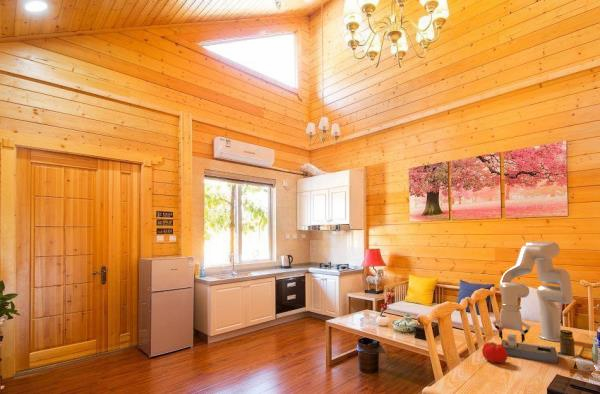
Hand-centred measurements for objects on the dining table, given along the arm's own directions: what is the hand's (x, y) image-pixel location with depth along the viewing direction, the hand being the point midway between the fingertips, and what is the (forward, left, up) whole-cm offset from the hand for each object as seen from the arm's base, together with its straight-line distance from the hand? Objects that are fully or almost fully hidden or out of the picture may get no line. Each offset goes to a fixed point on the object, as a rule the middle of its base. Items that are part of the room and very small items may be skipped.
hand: (511, 340), depth 183 cm
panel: (0, +7, -6) cm, 9 cm away
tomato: (+20, -7, -7) cm, 22 cm away
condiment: (-12, +24, -7) cm, 28 cm away
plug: (0, 0, -6) cm, 6 cm away
